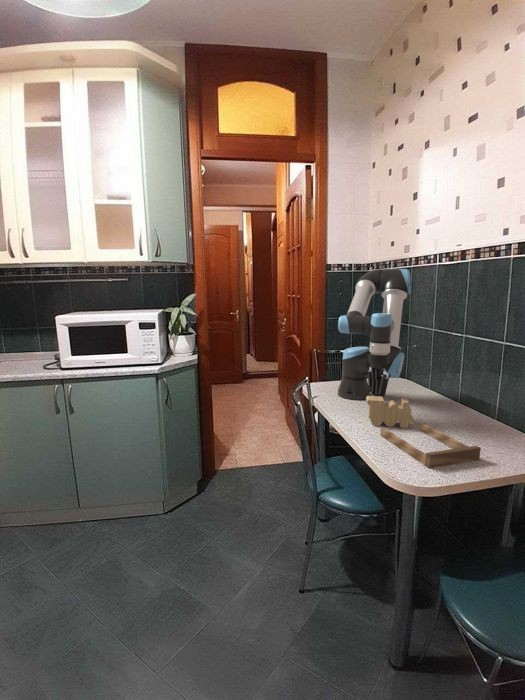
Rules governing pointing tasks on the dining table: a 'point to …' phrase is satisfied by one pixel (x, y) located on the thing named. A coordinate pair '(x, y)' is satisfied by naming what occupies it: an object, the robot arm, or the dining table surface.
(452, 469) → the dining table surface
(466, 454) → the frame
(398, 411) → the toy train
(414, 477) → the dining table surface
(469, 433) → the dining table surface
